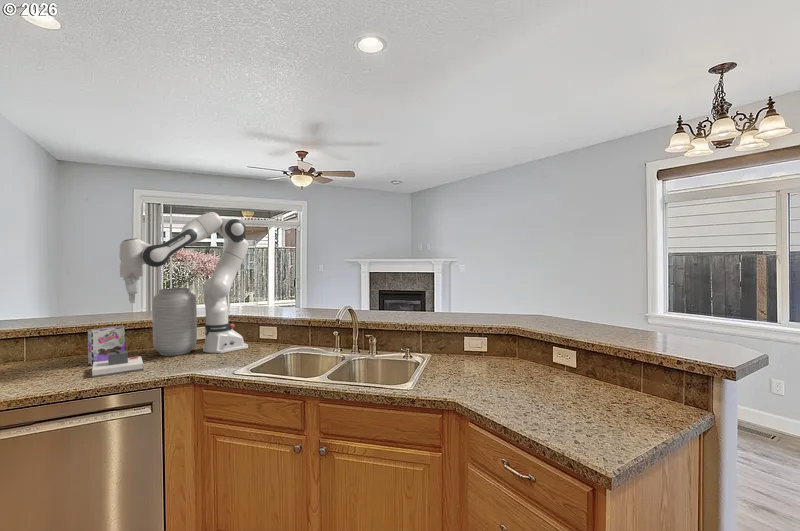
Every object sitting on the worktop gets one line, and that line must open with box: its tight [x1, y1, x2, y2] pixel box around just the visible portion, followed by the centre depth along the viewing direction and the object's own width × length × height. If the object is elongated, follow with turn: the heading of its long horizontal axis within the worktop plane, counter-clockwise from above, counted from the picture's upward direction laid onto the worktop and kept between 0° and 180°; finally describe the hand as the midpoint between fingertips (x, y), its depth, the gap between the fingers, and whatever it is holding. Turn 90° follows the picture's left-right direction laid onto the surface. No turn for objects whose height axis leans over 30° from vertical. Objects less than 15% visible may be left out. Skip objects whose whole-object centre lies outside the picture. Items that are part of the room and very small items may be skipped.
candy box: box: [87, 325, 127, 367], centre depth 191 cm, size 14×6×16 cm, turn 143°
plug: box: [108, 350, 129, 365], centre depth 178 cm, size 7×6×7 cm
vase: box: [151, 287, 198, 357], centre depth 209 cm, size 20×20×34 cm
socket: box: [91, 355, 144, 379], centre depth 178 cm, size 18×16×4 cm
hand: (132, 302), depth 188 cm, fingers open, 8 cm apart
